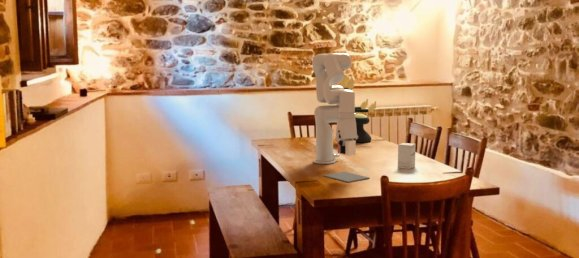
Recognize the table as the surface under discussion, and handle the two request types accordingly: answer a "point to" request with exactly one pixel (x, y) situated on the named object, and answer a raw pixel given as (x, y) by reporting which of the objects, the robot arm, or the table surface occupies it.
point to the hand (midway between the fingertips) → (346, 152)
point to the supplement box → (406, 155)
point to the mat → (346, 177)
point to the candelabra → (359, 118)
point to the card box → (348, 147)
